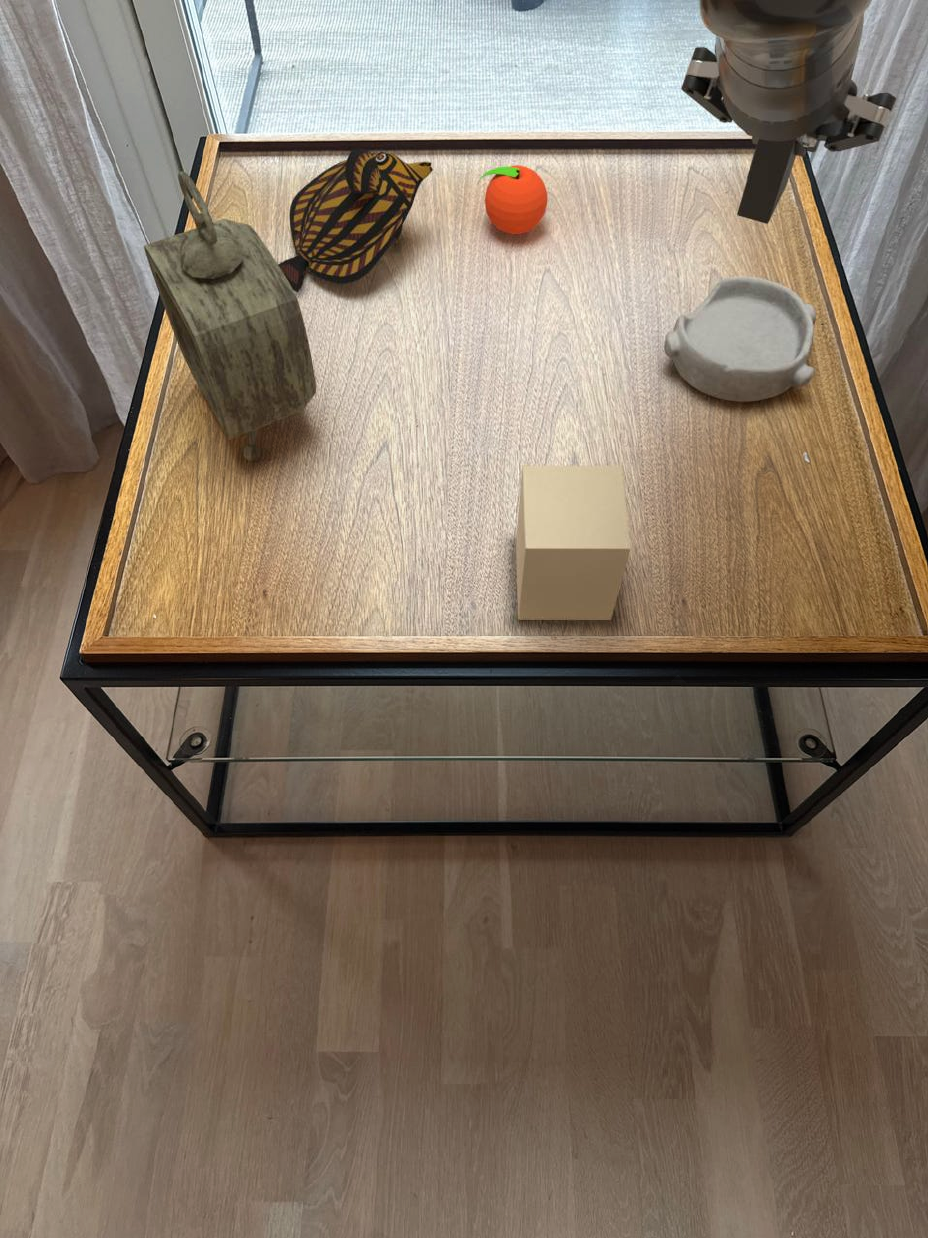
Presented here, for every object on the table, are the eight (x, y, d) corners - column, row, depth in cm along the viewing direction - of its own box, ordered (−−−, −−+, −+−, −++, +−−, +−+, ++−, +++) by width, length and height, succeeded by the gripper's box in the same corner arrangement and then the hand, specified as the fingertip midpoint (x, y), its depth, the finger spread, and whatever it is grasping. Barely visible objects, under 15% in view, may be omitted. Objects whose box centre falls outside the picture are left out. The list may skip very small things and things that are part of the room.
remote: (786, 186, 70) (821, 81, 64) (767, 224, 68) (801, 119, 61) (753, 177, 71) (785, 72, 64) (734, 214, 69) (764, 110, 62)
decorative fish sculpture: (406, 309, 98) (399, 214, 88) (265, 284, 100) (242, 187, 90) (440, 225, 104) (438, 127, 94) (307, 203, 106) (291, 105, 96)
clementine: (468, 239, 103) (468, 182, 97) (484, 201, 107) (485, 143, 100) (537, 252, 102) (541, 195, 96) (551, 213, 105) (556, 155, 99)
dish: (649, 383, 92) (658, 346, 88) (691, 296, 99) (701, 257, 94) (790, 429, 89) (807, 392, 85) (824, 336, 96) (841, 297, 91)
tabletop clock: (190, 379, 93) (106, 146, 71) (273, 348, 95) (216, 113, 73) (244, 479, 87) (170, 257, 65) (331, 444, 89) (288, 217, 67)
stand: (604, 543, 83) (622, 465, 73) (611, 620, 79) (631, 548, 69) (515, 543, 83) (522, 465, 73) (518, 620, 79) (525, 548, 69)
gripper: (945, 0, 48) (902, 104, 65) (693, -57, 52) (711, 56, 68) (883, 150, 51) (856, 215, 67) (644, 87, 54) (673, 164, 70)
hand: (783, 135), depth 67 cm, fingers closed on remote, 2 cm apart
